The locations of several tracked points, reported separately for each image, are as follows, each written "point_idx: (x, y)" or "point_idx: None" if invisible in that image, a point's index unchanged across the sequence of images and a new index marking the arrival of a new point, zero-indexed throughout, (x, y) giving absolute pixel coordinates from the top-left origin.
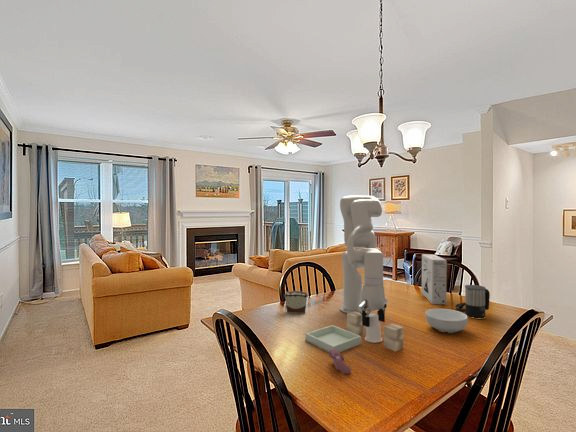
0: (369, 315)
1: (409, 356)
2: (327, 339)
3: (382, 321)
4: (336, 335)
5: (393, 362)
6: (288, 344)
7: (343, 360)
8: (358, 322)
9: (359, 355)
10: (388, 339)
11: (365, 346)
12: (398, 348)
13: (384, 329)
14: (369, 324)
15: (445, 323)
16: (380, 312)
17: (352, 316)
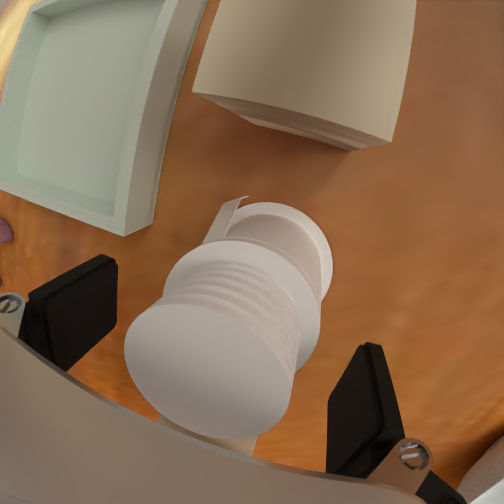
0: (167, 348)
1: None
2: (79, 58)
3: (333, 393)
4: (145, 45)
5: (113, 384)
6: (21, 17)
7: (10, 239)
8: (274, 118)
9: (62, 268)
10: None
11: (140, 258)
12: None
13: (158, 418)
14: (101, 335)
15: None
16: (346, 454)
17: (214, 36)
